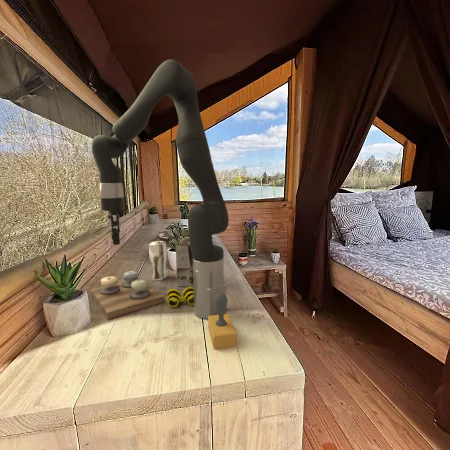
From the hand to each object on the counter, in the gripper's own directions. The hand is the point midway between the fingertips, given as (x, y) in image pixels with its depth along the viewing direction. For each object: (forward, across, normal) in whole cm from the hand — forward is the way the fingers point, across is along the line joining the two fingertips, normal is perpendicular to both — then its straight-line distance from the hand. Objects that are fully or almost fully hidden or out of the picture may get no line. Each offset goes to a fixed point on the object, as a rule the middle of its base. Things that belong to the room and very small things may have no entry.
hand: (115, 241), depth 97 cm
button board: (+18, -8, -2) cm, 20 cm away
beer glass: (+19, +7, -16) cm, 26 cm away
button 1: (+14, -3, +3) cm, 15 cm away
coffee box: (+19, -3, -25) cm, 32 cm away
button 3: (+14, -1, -4) cm, 15 cm away
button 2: (+14, -12, -6) cm, 19 cm away
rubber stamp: (+19, -43, -22) cm, 52 cm away
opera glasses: (+19, -20, -18) cm, 33 cm away
